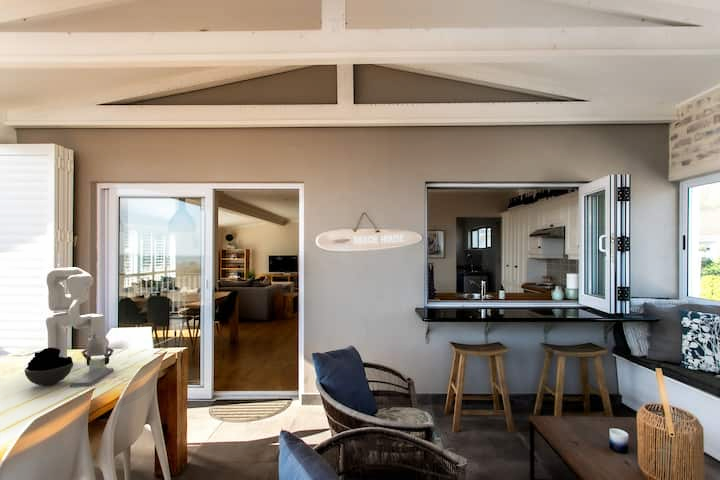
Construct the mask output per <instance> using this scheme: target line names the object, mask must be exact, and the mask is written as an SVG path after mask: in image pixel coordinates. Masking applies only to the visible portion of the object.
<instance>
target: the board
mask: <svg viewBox="0 0 720 480" xmlns="http://www.w3.org/2000/svg"><path fill="white" fill-rule="evenodd" d="M113 372H114V367H108V368H107V367H105V368H102V369H94V370H92V371H88V372H87V373H84V374H83V375H81V376H79V377H78V378H76V379H75V380H73V381H71V382H70V383H69V388H76V387H77V388H79V387H91V386H93V385H94V384H96V383H97V382H99V381H101V380H102V379H103V378H105V377H107V376H108V375H110V374H112V373H113Z"/></svg>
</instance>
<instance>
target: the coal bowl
mask: <svg viewBox="0 0 720 480" xmlns="http://www.w3.org/2000/svg"><path fill="white" fill-rule="evenodd" d="M59 354H60V349H57V348H53V347H52V348H48V347H46V348H44V349H42V350H40V351H38V352H37V351H36V352H34V357H32V358H31V360H30V361H29V362H28V363H27V367H25V368H24V373H25V374H24V375H25V377H26V378H27V380H28V381H30V382H31V383H32V384H34V385H36V386H37V385H38V386H45V387H46V386H51V385H55V384H58V383H60V382H62V381H63V380H64V379H65V378H67V377H68V375H69V374H70V373H71V371H72V369H73V366H74V361H73V357H72V356H70V355H69V356H68V355H67V357H66V358H65V357H59Z"/></svg>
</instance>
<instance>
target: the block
mask: <svg viewBox="0 0 720 480" xmlns="http://www.w3.org/2000/svg"><path fill="white" fill-rule="evenodd" d="M105 358H106V357H105V356H103V357H102V356H101V357H100V356H99V357H94V358H91V360H90V361H89V366H88V367H89V368H88V370H89V371H88V372H90V371H92V370H94V369H102V368H107V367H106V366H107V365H105Z"/></svg>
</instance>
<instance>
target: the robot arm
mask: <svg viewBox="0 0 720 480" xmlns="http://www.w3.org/2000/svg"><path fill="white" fill-rule="evenodd" d="M44 281H45V284H46V288H47V305H48V309H49V310H50V311H51V312H57V313H52V314H50V315H48V316H47V317H46V320H45V326H46V331H47V348H52V347H53V348H57V349H60V354H59V357H65V358H66V357H68V334H67V331H66V330H65V329H64V328H68V327H73V329H76V330H81V329H85V328H89V334H87V337H89V338H88V340H87V345H86V349H84V350H82V351H81V354H82V356H83V357H84V358H85V360H86V366H87V367H89V361H90V360H91V359H92V357H100V356H101V357H102V356H103V357H106V358H105V365H106V366H107V365H108V364H109V363H110V357H111V356H112V355H113V353H114V352H115V351H114V349H113V348H111V347H109V345H108V341H109V340H108V341H107V339H108V338H107V337H106V316H105V315H104V314H97V313H89V314H83V315H80V305H81V304H82V303H84V302H86V301H88V299H89V298H90V295H89V292H88V290H87V288H90V287H92V286H93V285H94V278H93V276H92V275H91V274H90V273H88V272H86V271H85V270H83V269H81V268H79V267H58V268H53V269H50V270H48V271H47V273H46V274H45V280H44ZM62 282H65V284H66V286H67V290H68V292H69V294H66V287H65V286H64V285H63V283H62ZM61 311H62V312H61Z"/></svg>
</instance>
